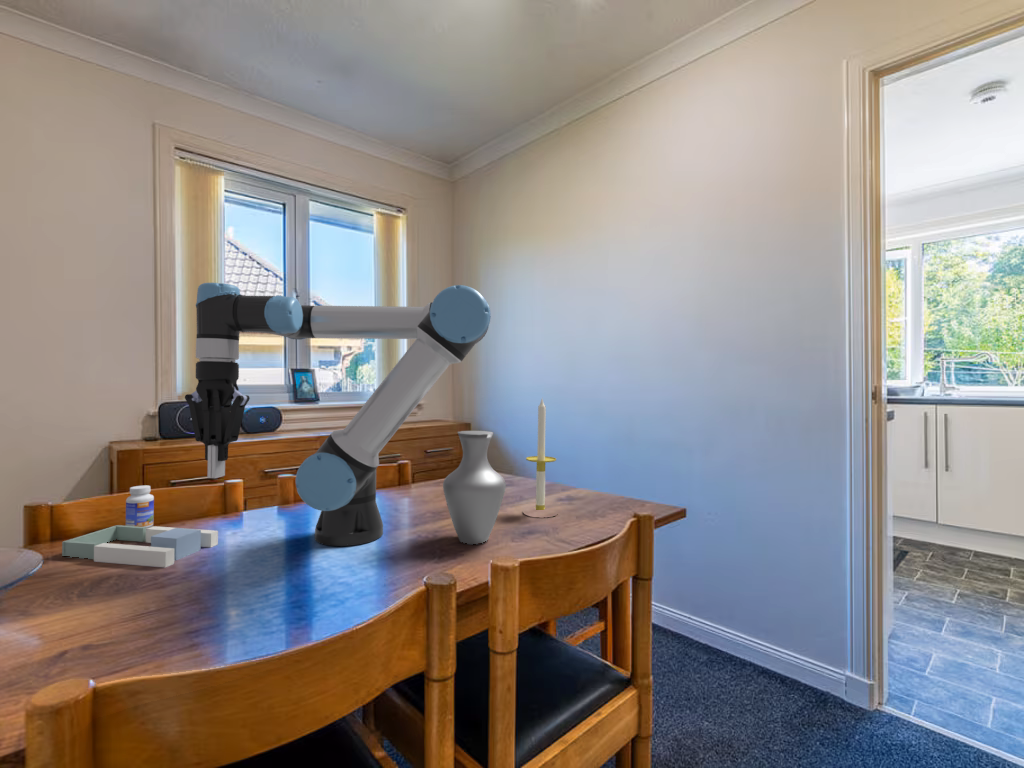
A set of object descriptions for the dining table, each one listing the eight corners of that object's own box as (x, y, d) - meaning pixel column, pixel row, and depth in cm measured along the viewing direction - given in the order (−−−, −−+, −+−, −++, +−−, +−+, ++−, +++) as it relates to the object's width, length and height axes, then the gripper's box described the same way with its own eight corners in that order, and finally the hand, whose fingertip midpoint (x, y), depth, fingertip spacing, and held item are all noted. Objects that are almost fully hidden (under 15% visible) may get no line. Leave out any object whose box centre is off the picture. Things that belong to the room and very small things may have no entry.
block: (200, 551, 104) (200, 529, 104) (176, 561, 98) (176, 538, 98) (176, 548, 105) (176, 527, 105) (150, 558, 99) (151, 536, 99)
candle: (534, 506, 144) (536, 396, 144) (564, 512, 138) (566, 397, 138) (515, 514, 136) (517, 396, 136) (545, 520, 130) (548, 398, 130)
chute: (217, 544, 107) (218, 530, 107) (165, 567, 94) (165, 551, 94) (153, 539, 110) (153, 526, 110) (93, 561, 96) (93, 546, 96)
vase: (517, 540, 114) (519, 432, 114) (471, 555, 103) (473, 437, 103) (475, 526, 124) (477, 427, 123) (429, 539, 113) (431, 431, 113)
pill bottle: (138, 531, 115) (138, 490, 115) (119, 529, 116) (120, 488, 116) (159, 524, 121) (159, 485, 121) (141, 523, 122) (141, 484, 122)
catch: (146, 540, 109) (146, 527, 109) (94, 559, 98) (94, 544, 98) (116, 538, 110) (116, 525, 110) (62, 556, 99) (62, 541, 99)
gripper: (259, 361, 102) (258, 474, 103) (202, 361, 104) (201, 471, 105) (234, 360, 95) (232, 482, 95) (173, 359, 97) (172, 478, 97)
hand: (216, 476), depth 100 cm, fingers closed
